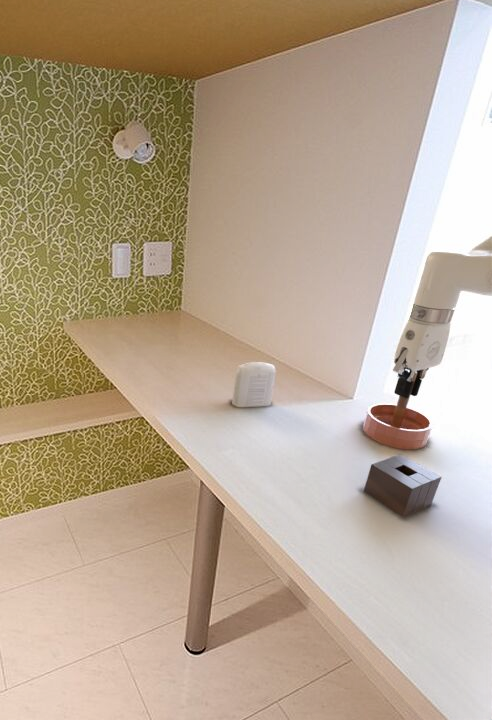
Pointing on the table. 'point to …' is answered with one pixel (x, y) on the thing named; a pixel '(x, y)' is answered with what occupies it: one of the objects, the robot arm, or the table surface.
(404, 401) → the stick
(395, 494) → the stand
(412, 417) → the bowl
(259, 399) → the photo printer
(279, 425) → the table surface
